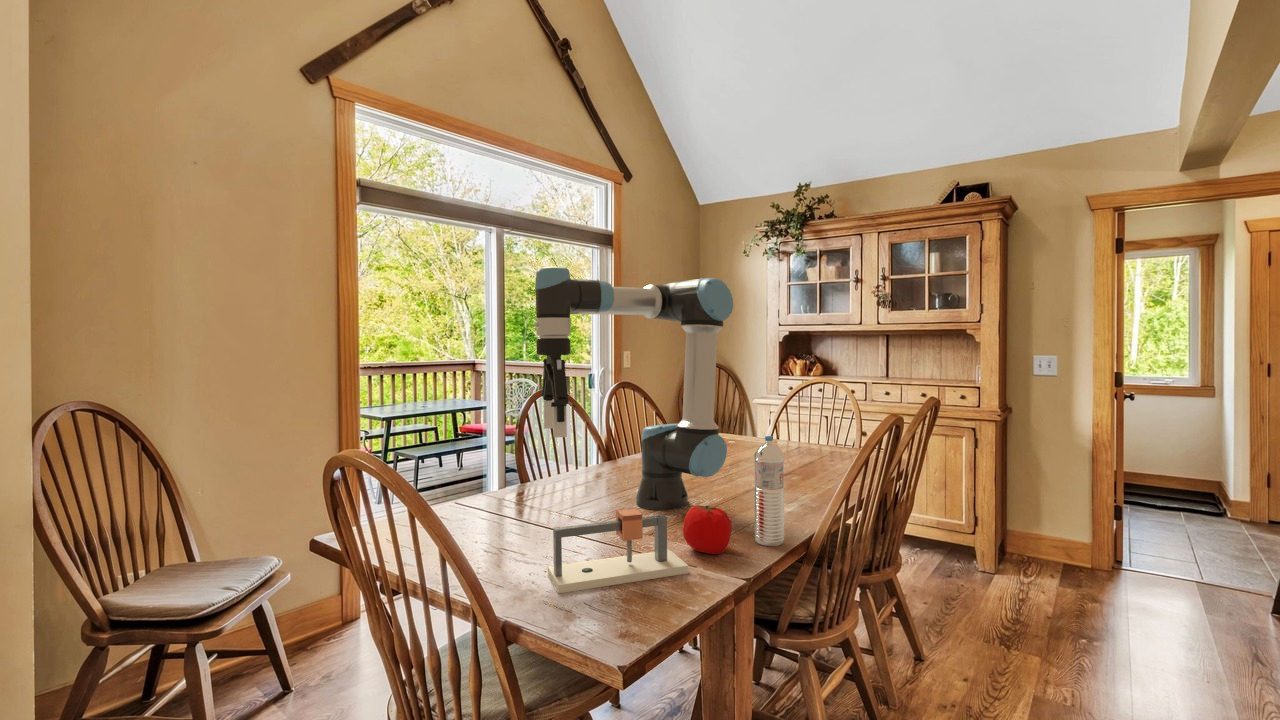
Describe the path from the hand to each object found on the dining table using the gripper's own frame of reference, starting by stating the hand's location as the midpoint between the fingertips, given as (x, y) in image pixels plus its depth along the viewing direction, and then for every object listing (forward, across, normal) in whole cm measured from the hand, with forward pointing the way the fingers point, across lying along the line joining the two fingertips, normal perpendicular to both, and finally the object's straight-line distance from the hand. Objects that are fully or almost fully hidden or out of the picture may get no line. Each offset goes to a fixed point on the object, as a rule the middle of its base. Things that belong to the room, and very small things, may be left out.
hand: (554, 432), depth 134 cm
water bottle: (+28, +9, +49) cm, 57 cm away
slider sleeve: (+25, +16, +12) cm, 32 cm away
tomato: (+28, +9, +33) cm, 44 cm away
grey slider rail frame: (+26, +16, +9) cm, 31 cm away
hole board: (+27, +16, +10) cm, 33 cm away
